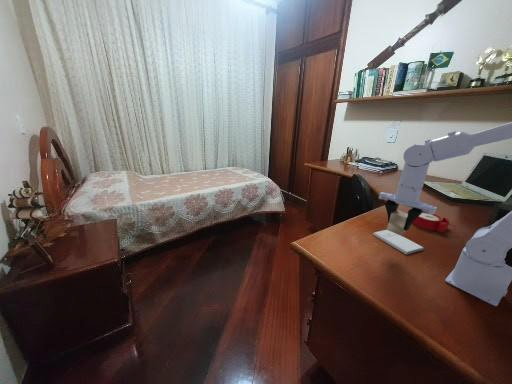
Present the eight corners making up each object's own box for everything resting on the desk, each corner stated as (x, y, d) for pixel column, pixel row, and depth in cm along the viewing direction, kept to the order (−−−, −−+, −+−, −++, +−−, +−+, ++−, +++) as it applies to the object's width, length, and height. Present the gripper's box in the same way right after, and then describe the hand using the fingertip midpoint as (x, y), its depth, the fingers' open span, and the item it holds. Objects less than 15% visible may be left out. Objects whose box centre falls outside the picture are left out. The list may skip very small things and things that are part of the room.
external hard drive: (405, 256, 66) (372, 236, 77) (422, 251, 69) (388, 232, 79) (407, 251, 65) (373, 232, 76) (424, 247, 68) (389, 228, 79)
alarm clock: (412, 208, 92) (459, 212, 81) (411, 221, 93) (458, 227, 82) (405, 214, 85) (455, 220, 74) (405, 228, 86) (454, 236, 75)
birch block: (405, 231, 65) (411, 214, 63) (400, 235, 63) (405, 218, 61) (392, 226, 68) (397, 210, 66) (386, 229, 66) (391, 213, 64)
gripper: (378, 181, 64) (368, 220, 69) (436, 195, 53) (420, 241, 58) (388, 178, 68) (379, 215, 73) (444, 191, 57) (429, 233, 62)
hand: (397, 226), depth 65 cm, fingers closed on birch block, 4 cm apart
